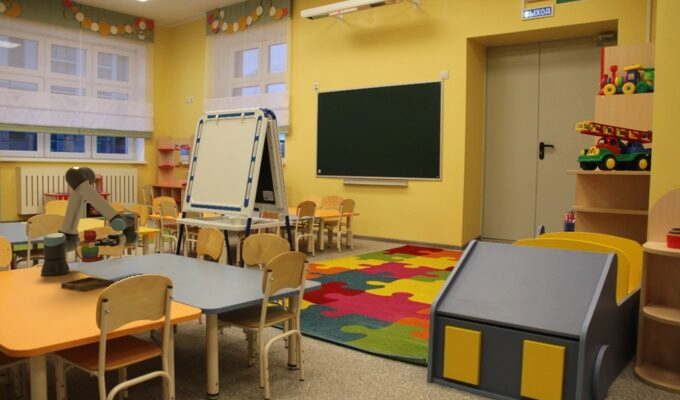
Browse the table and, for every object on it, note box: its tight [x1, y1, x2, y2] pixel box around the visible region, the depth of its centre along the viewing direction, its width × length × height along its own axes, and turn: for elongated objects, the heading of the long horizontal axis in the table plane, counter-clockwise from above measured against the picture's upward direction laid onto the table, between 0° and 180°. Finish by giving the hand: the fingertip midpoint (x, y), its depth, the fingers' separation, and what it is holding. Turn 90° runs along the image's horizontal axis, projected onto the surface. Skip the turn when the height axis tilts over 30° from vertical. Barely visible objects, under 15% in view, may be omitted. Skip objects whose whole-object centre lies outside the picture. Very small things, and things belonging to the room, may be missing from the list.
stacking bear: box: [80, 229, 103, 263], centre depth 315 cm, size 11×10×18 cm
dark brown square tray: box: [60, 276, 114, 292], centre depth 296 cm, size 18×18×2 cm
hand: (83, 244), depth 311 cm, fingers closed on stacking bear, 9 cm apart
